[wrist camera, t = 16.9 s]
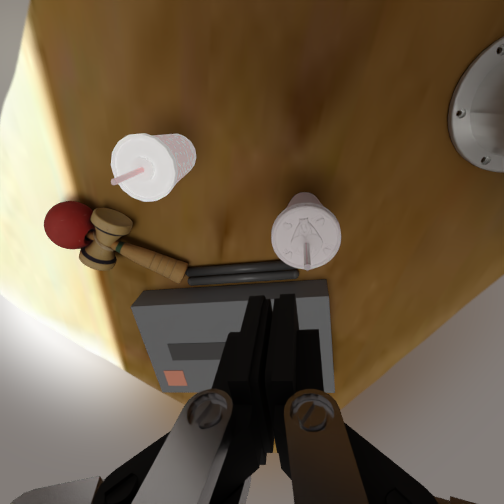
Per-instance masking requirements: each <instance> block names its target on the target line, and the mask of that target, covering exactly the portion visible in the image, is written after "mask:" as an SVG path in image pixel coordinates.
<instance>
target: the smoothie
mask: <svg viewBox="0 0 504 504" xmlns="http://www.w3.org/2000/svg"><path fill="white" fill-rule="evenodd" d="M340 243H341V230H340V226H339V222H338V221H337V219H336V217H335V215H334V214H333V213H332V212H331V211H329V210H328V209H327V208H325V207H323V205H322V204H321V202H320V201H319V200H318V198H317V197H316V196H315V195H313V194H311V193H308V192H301V193H298V194H296V195H295V196H294V197H293V198H292V199H291V200H290V202H289V204H288V206H287V207H286V209H285V210H283V211H282V212H281V213H280V214H279V215H278V217H277V218H276V220H275V222H274V224H273V228H272V246H273V249H274V251H275V253H276V254H277V256H278V257H279V258H280V259H281V260H282V261H283V262H284V263H286V264H288V265H290V266H292V267H295V268H299V269H305V270H310V269H313V268H317V267H320V266H322V265H324V264H326V263H327V262H329V261H330V260H331V259H332V258H333V257H334V256H335V254H336V253H337V251H338V249H339V246H340Z"/></svg>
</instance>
